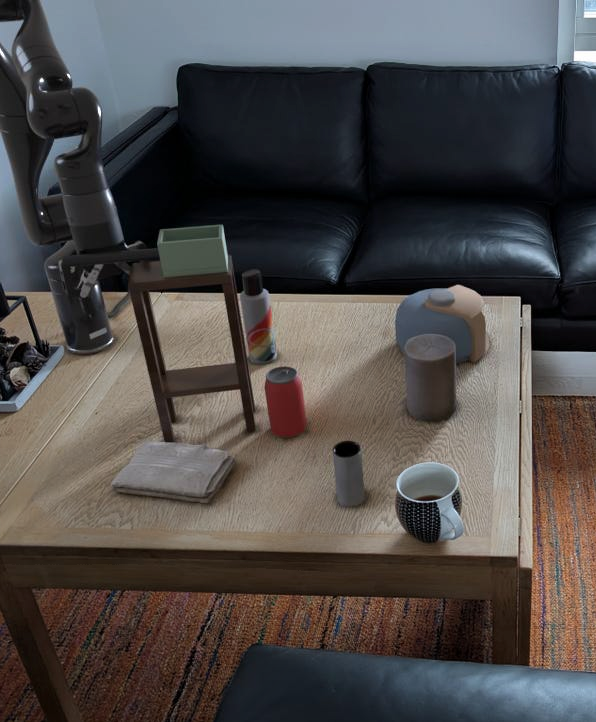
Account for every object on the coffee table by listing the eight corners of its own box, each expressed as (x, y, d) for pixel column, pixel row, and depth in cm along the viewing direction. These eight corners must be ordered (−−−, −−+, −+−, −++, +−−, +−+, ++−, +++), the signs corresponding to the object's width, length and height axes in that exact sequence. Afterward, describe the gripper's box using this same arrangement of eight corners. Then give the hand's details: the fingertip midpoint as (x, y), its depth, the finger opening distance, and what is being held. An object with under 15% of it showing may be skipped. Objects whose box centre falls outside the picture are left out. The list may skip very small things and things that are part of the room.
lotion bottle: (270, 366, 172) (258, 279, 162) (244, 362, 173) (231, 276, 163) (281, 352, 177) (270, 267, 167) (256, 349, 178) (243, 264, 168)
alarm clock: (495, 364, 174) (496, 313, 168) (399, 371, 171) (397, 319, 165) (481, 320, 190) (481, 272, 184) (393, 326, 188) (391, 278, 181)
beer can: (313, 422, 156) (307, 368, 149) (295, 442, 150) (288, 387, 144) (282, 415, 157) (275, 361, 151) (264, 435, 152) (255, 380, 146)
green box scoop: (71, 271, 137) (61, 237, 134) (228, 257, 142) (222, 224, 139) (64, 286, 132) (55, 252, 129) (227, 272, 137) (222, 238, 134)
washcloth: (212, 506, 135) (209, 491, 134) (108, 495, 138) (104, 480, 136) (240, 461, 146) (237, 447, 144) (143, 451, 148) (140, 437, 146)
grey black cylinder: (338, 489, 139) (333, 440, 134) (365, 488, 140) (361, 439, 134) (336, 507, 136) (331, 458, 130) (364, 506, 136) (360, 456, 131)
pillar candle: (464, 400, 163) (465, 334, 155) (442, 427, 155) (441, 358, 147) (420, 388, 166) (419, 323, 158) (396, 414, 158) (393, 346, 151)
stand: (167, 418, 156) (132, 263, 140) (255, 407, 160) (231, 254, 143) (164, 443, 150) (127, 283, 133) (255, 431, 153) (230, 274, 136)
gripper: (129, 203, 142) (151, 292, 149) (40, 222, 134) (68, 314, 141) (144, 211, 136) (166, 303, 143) (52, 231, 129) (80, 327, 136)
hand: (117, 309), depth 142 cm, fingers open, 8 cm apart
